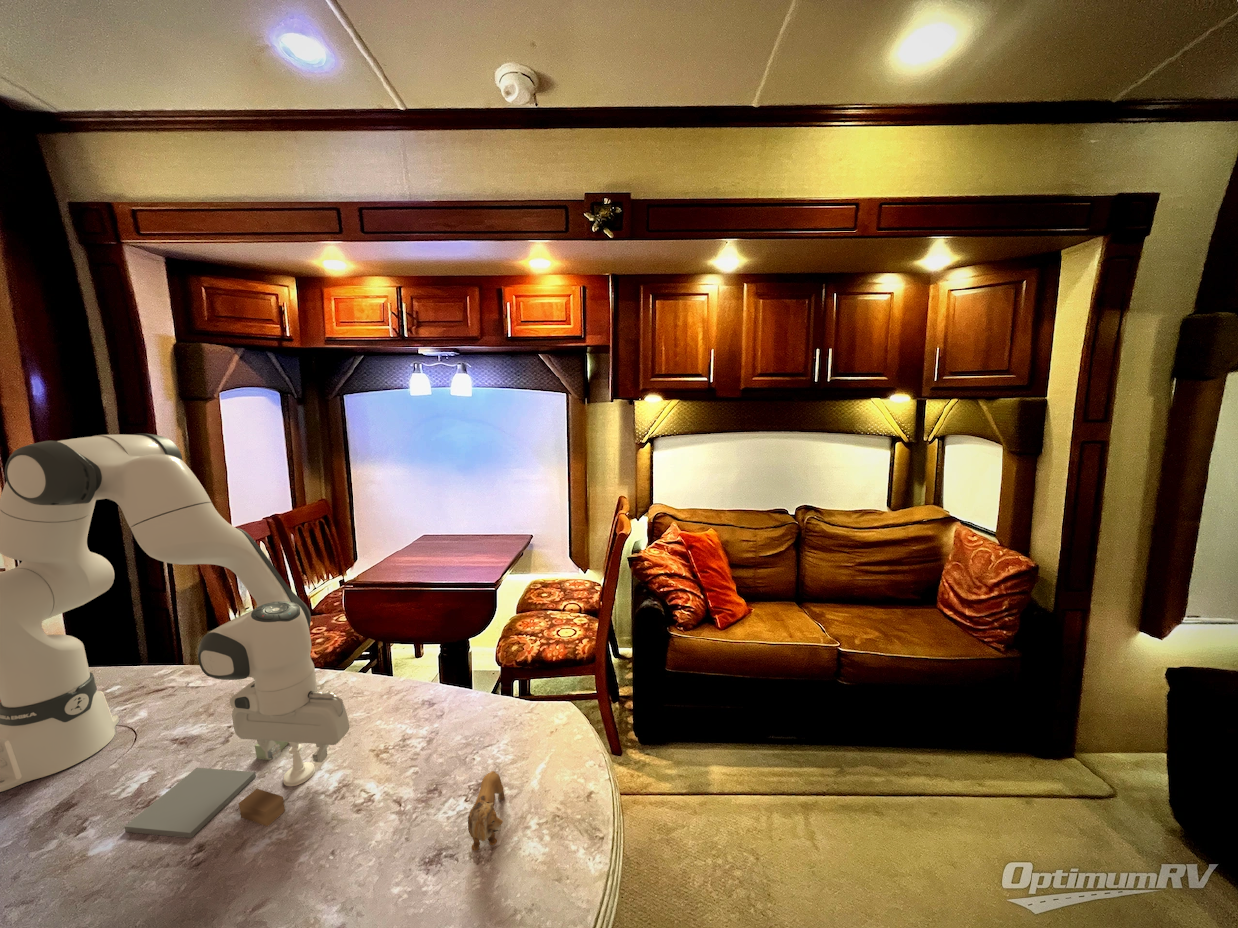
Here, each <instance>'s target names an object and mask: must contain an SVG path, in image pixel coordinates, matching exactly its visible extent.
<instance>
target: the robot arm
mask: <svg viewBox="0 0 1238 928" xmlns="http://www.w3.org/2000/svg"><path fill="white" fill-rule="evenodd" d="M4 475H5V480H6V481H5V484H4V486H3V489H2V492H1V495H0V555H3V556H4V557H6V558H9V559H12V560H15V561H19V562H20V561H21V562H20V563H19V564H18V565H17V566H16V567H14V568H12V569H11V568H10V569H9V570H5V571H2V572H0V793H1V792H2V793H3V792H5V791H7V790H11V789H12V788H15V787H17V786H19V785H22V784H25V783H28V782H30V781H33V780H37V779H40V778H45V777H48V776H52V775H54V774H56V773H58V772H62V771H63V770H66V769H68V768H71V767H73V766H74V765H77V764H79V763H81V762H82V761H84V760H86V759H88V758H89V757H92V756H94V755H95V754H96V753H98V752H99V751H100V750H102V749H103V748H104V747H106V746H107V745H108V744H109V743H110V742H112V740H113V738H115V737H114V736H115V734H116V729H115V728H116V726H117V725H118V723H119V722H120V718H119V715H112V713H111V710H110V708H109V704H108V702H107V698H106V697H105V694H104V693H103V692H104V691H101V690H98V688H97V680H96V678H95V676H94V673H92V672H91V671H90V667H89V663H88V659H87V653H86V650H85V649H86V648H85V645H84V643H83V641H81V640H80V639H78V638H77V637H75V636H73V635H67V634H47V633H46V632H45V631H44V629H43V626H42V625H43V622H44V621H46V620H48V619H50V618H53V617H56V616H58V615H61V614H64V613H66V612H68V611H71V610H74V609H76V608H79V607H81V606H84V605H85V604H87V603H89V602H91V601H92V600H94V599H96V598H97V597H99V596H101V595H103V594H105V593H106V592H107V591H109V590H110V588H112V586H113V584H114V580H115V570H114V567H113V565H112V564H111V562H110V561H109V560H108V559H107V558H106V557H104V556H103V555H101V554H98V553H96V552H93V551H90V549H89V547H88V536H89V535H88V534H89V531H90V527H91V522H92V519H93V518H92V517H93V513H94V509H95V506H96V502H97V501H99V500H105V499H107V500H109V501H112V502H115V503H116V504H117V505H118V506H119V507H120V510H121V511H122V513H123V516H124V519H125V520H126V523H127V524H128V526H129V528H130V530H131V533H132V535H133V537H134V539H135V541H136V542H137V544H138V545H139V547H140V548H141V550H142V551H143V552H144V553H146V555H148V556H149V557H150V558H152V559H155V560H157V561H160V562H164V563H166V564H172V565H183V566H185V565H189V566H190V565H213V566H214V565H215V566H220V567H223V568H225V569H228V570H230V571H231V572H232V573H234V575H236V577H237V578H238V579H239V581H240V582H241V583H242V585H243V586H244V588H245V589H246V590H247V591H248V593H249V595H251V597H252V598H253V599H254V601H255V603H256V608H254V609H252V610H249V612H245V613H244V614H241V615H240V616H238V617H236V618H235V617H234V618H233V619H231V620H228V621H227V622H225V623H223V624H221V625H219V626H218V627H216V628H214V629H212V630H210V632H207V633H205V634H204V635H203V636H202V639H201V640H200V642H199V645H198V647H197V661H198V664H199V667H200V670H202V672H203V673H204V674H205V676H207V677H209V678H213V679H215V680H220V681H221V680H222V681H224V680H225V681H236V680H239V681H240V680H244V679H247V678H251V679H253V681H252V682H250V683H248V684H247V685H246V686H245V687H243V688H242V689H240V690H239V691H238V692H236V693H235V694H234V695H233V696H231V698H229V704H230V707H231V708H232V712H231V718H232V719H231V720H232V726H233V730H234V731H233V732H234V733H235V735H236V736H237V737H238V738H239V739H241V740H254V741H255V740H256V744H257V743H258V745H259V746H260V747H261V748H262V749H263V750H264V751H265V755H266V759H271V760H275V759H276V758H277V757H278V756H279V755H280V754H281V752H282V750H280V745H279V744H276V743H275V742H274V741H282V742H296V743H299V744H314V745H316V746H315V747H316V748H317V749H316V751H314V752H313V754H312V761H313V762H314V763H323V762H324V761H325V760H326V759H327V757H328V750H327V749H328V747H329V746H336V745H337V744H338V743H339V742H340V741H341V740H342V739H344V737H345V736H346V735H347V733H348V732H349V730H350V721H349V717H348V713H347V710H346V706H345V704H344V701H343V699H342V697H340V696H337V695H336V693H335V692H322V691H318V686H317V685H318V683H317V678H316V670H315V664H314V661H313V660H312V657H311V652H312V639H311V638H312V637H311V633H310V628H311V621H312V615H311V611H310V609H309V607H308V605H307V604H306V603H305V602H304V601H303V600H302V599H301V598H300V597H299V596H298V595H297V594H296V593H295V592H293V590H292V589H291V588H290V586H289V585H288V583H286V581H285V580H284V578H283V576H281V574H280V573H279V572H278V570H277V568H275V566H274V564H272V562H271V561H270V559H269V558H268V556H267V555H266V553H264V551H263V550H262V549H261V547H260V546H259V544H258V543H257V542H256V541H255V539H254V538H253V537H252V536H251V535H250V534H249V533H248V532H247V531H245V530H244V529H242V528H239V527H235V526H233V525H232V524H231V523H229V522H228V521H227V520H226V519H225V518H223V516H222V515H221V514H220V513H219V512H218V511H217V509H216V508H215V506H214V504H213V502H212V500H211V499H210V496H209V494H208V493H207V491H206V489H205V488H204V487H203V485H202V484H201V482H200V480H199V479H198V478H197V476H196V474H195V473H194V472H193V470H191V468H189V466H188V465H187V463H185V461H184V460H183V456H182V453H181V451H180V449H179V447H178V446H177V445H176V443H175V442H174V441H172V440H171V439H169V437H166V436H164V435H163V436H162V435H158V434H152V433H134V434H124V433H123V434H98V435H97V434H95V435H92V436H84V437H83V436H82V437H77V438H69V439H60V440H44V441H39V442H36V443H35V442H34V443H30V444H28V445H27V444H26V445H24V446H21V447H19V448H17V449H15V450H14V451H13V452H12V453H11V454H10V455H9V457H8V458H7V461H6V463H5V467H4ZM313 762H312V763H313Z"/></svg>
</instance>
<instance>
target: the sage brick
mask: <svg viewBox="0 0 1238 928" xmlns="http://www.w3.org/2000/svg"><path fill="white" fill-rule="evenodd" d="M274 742H275V743H276V744H279V745H280V750H281V751H282V750H283V749H285V747H286V746H288V745H290V744H289V743H288V742H282V741H274ZM254 748H255V749H254V750H255V757H256V759H259V760H266V761H270V760H272V759H266V755H265V751H264V750H263V749H262V748H261V747H260V746H259V745H258V743H257V742H256V744H254Z"/></svg>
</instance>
